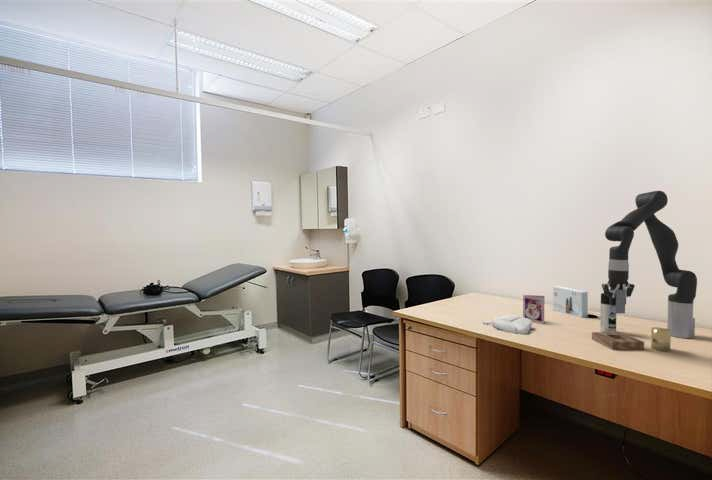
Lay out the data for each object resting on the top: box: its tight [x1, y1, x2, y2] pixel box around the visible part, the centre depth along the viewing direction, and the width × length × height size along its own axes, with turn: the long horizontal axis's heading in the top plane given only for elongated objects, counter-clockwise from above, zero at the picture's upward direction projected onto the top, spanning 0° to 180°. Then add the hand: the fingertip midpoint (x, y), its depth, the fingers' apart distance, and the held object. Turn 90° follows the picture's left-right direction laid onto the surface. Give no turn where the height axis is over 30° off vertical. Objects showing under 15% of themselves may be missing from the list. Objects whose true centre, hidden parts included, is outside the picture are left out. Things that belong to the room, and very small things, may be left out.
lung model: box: [482, 315, 533, 335], centre depth 188 cm, size 7×17×25 cm
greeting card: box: [522, 294, 545, 325], centre depth 199 cm, size 11×7×15 cm, turn 42°
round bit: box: [650, 326, 672, 353], centre depth 153 cm, size 6×6×9 cm
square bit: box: [610, 289, 626, 314], centre depth 159 cm, size 4×4×11 cm
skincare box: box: [552, 285, 589, 319], centre depth 216 cm, size 21×6×16 cm, turn 17°
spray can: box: [600, 292, 617, 332], centre depth 178 cm, size 7×7×20 cm
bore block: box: [591, 331, 645, 351], centre depth 160 cm, size 14×14×4 cm
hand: (617, 305), depth 159 cm, fingers closed on square bit, 4 cm apart
